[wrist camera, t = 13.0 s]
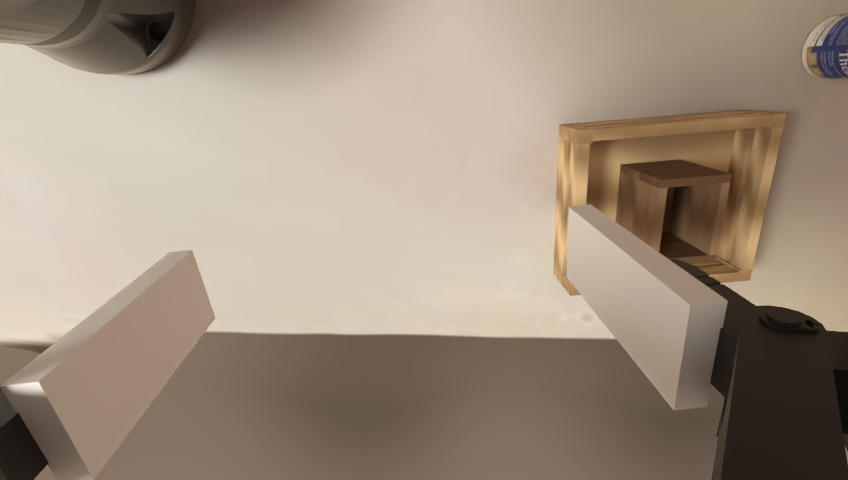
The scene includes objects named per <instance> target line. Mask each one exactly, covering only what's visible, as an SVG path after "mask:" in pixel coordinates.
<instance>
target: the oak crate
mask: <svg viewBox="0 0 848 480" xmlns="http://www.w3.org/2000/svg"><path fill="white" fill-rule="evenodd" d="M786 116H787V114H786V113H774V112H763V111H751V110H735V111H723V112H711V113H699V114H686V115H674V116H662V117H650V118H637V119H625V120H613V121H600V122H588V123H576V124H564V125H560V127H559V153H558V178H557V204H556V230H555V256H554V275H555V276H556V278H557V279H558V280H559V282H560V283H561V284H562V285H563V287H564V288H565V289H566V291H567V292H568V293H569V295H570V296H572V295H581V294H580V293H579V292H578V290H577V289H576V288H575V287H574V286H573V284H572V283H571V282H570V281H569V279H568V278H567V249H568V213H569V207H571V206H579V205H588V204H591V205H592V206H594V207H595V208H597V209H598V210H599V211H601V212H602V213H604V214H605V215H607V216H608V217H609V218H611V219H612V220H614V221H616V210H617V199H618V187H619V176H620V165H621V164H632V163H644V162H656V161H667V160H679V159H681V160H685V161H688V162H692V163H695V164H699V165H702V166H706V167H709V168H713V169H716V170H720V171H723V172H727V173H730V174H732V176H731V182H730V187H729V193H728V198H727V203H726V209H725V214H724V219H723V225H722V230H721V236H720V241H719V246H718V252H717V257H716V262H707V263H695V264H692V265H695V266H696V267H698V268H699V269H701V270H702V271H704V272H705V273H707V274H708V275H709V277H713V278H714V279H716V280H717V281H719V282H720V283H724V282H736V281H748V280H750V277H751V272H752V268H753V263H754V259H755V254H756V250H757V245H758V241H759V236H760V232H761V227H762V223H763V218H764V214H765V210H766V205H767V201H768V196H769V192H770V187H771V183H772V178H773V174H774V169H775V165H776V160H777V156H778V151H779V147H780V142H781V138H782V134H783V129H784V125H785V120H786Z"/></svg>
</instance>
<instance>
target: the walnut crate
mask: <svg viewBox="0 0 848 480" xmlns="http://www.w3.org/2000/svg"><path fill="white" fill-rule="evenodd" d="M731 176H732V174H730V173H727V172H723V171H720V170H716V169H713V168H709V167H706V166H702V165H699V164H695V163H692V162H688V161H685V160H681V159H679V160H667V161H656V162H644V163H632V164H621V165H620V176H619V187H618V199H617V210H616V221H615V222H616V223H618V224H619V225H621V226H622V227H624V228H625V229H626V230H628V231H629V232H631V233H632V234H634V235H635V236H636V237H638V238H639V239H641V240H642V241H643V242H645V243H646V244H648V245H649V246H651V247H652V248H653V249H655V250H656V251H658V252H659V253H661V254H662V255H663V256H665V257H666V258H668V259H678V260H681V261H684V262H686V263H689V264H695V263H707V262H716V257H717V252H718V246H719V241H720V236H721V230H722V225H723V219H724V214H725V209H726V203H727V198H728V193H729V187H730V182H731Z"/></svg>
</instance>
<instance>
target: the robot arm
mask: <svg viewBox="0 0 848 480" xmlns="http://www.w3.org/2000/svg"><path fill="white" fill-rule="evenodd" d="M193 11H194V0H0V43H11V44H24V45H26V46H28V47H30V48H32V49H34V50H37V51H39V52H41V53H43V54H45V55H47V56H49V57H51V58H53V59H55V60H57V61H59V62H61V63H63V64H66V65H68V66H70V67H73V68H76V69H79V70H83V71H87V72H92V73H97V74H113V75H130V74H137V73H142V72H145V71H148V70H151V69H153V68H155V67H157V66H159V65H161V64H162V63H164V62H165V61H166V60H168V59H169V58H170V57H171V56H172V55H173V54H174V53H175V52H176V51H177V50H178V48H179V47H180V46H181V44H182V42H183V41H184V39H185V37H186V35H187V33H188V30H189V28H190V25H191V21H192V17H193ZM567 278H568V279H569V281H570V282H571V283H572V284H573V286H574V287H575V288H576V289H577V290H578V292H579V293H580V294H581V295H582V297H583V298H584V299H585V300H586V302H587V303H588V304H589V305H590V307H591V308H592V309H593V310H594V312H595V313H596V314H597V315H598V317H599V318H600V319H601V320H602V322H603V323H604V324H605V325H606V327H607V328H608V329H609V330H610V332H611V333H612V334H613V335H614V337H615V338H616V339H617V340H618V341H619V343H620V344H621V345H622V346H623V348H624V349H625V350H626V351H627V352H628V354H629V355H630V356H631V358H632V359H633V360H634V361H635V363H636V364H637V365H638V366H639V368H640V369H641V370H642V371H643V373H644V374H645V375H646V376H647V377H648V379H649V380H650V381H651V382H652V384H653V385H654V386H655V387H656V389H657V390H658V391H659V392H660V394H661V395H662V396H663V397H664V399H665V400H666V401H667V402H668V403H669V405H670V406H671V407H672V409H673V410H681V409H690V408H698V407H706V406H708V400H709V395H710V390H711V385H713V386H714V387H715V388H716V389H717V390H718V391H719V392H720V393H721V394H722V395H723V396H724V397H725V399H724V403H723V408H722V413H721V418H720V422H719V427H718V431H717V437H718V440H717V447H716V454H715V460H714V467H713V473H712V480H848V465H847V458H846V451H845V447H846V449H847V450H848V332H837V331H826V329H825V328H824V326H823V325H822V324H821V323H819V322H818V321H817V320H815V319H814V318H812V317H810V316H808V315H805V314H803V313H801V312H798V311H795V310H791V309H787V308H783V307H776V306H755V305H754V304H752V303H751V302H749V301H748V300H746V299H745V298H743V297H742V296H740V295H739V294H737V293H736V292H734V291H733V290H731V289H730V288H728V287H727V286H725V285H721V284H720V282H719V281H717V280H716V279H714V278H713V277H709V275H708V274H707V273H705V272H704V271H702V270H701V269H699V268H698V267H696V266H695V265H692V264H689V263H686V262H684V261H681V260H678V259H668V258H666V257H665V256H663V255H662V254H661V253H659V252H658V251H656V250H655V249H653V248H652V247H651V246H649V245H648V244H646V243H645V242H643V241H642V240H641V239H639V238H638V237H636V236H635V235H634V234H632V233H631V232H629V231H628V230H626V229H625V228H624V227H622V226H621V225H619V224H618V223H616V222H615V221H614V220H612V219H611V218H609V217H608V216H607V215H605V214H604V213H602V212H601V211H599V210H598V209H597V208H595V207H594V206H592V205H591V204H588V205H579V206H571V207H569V213H568V249H567ZM214 319H215V316H214V313H213V310H212V307H211V304H210V301H209V298H208V295H207V293H206V290H205V287H204V284H203V281H202V278H201V275H200V272H199V269H198V266H197V263H196V260H195V257H194V254H193V251H192V250H188V251H179V252H171V253H169V254H167V255H166V256H165V257H164V258H162V259H161V260H160V261H159V262H157V263H156V264H155V265H153V266H152V267H151V268H150V269H148V270H147V271H146V272H145V273H143V274H142V275H141V276H139V277H138V278H137V279H136V280H134V281H133V282H132V283H131V284H129V285H128V286H127V287H125V288H124V289H123V290H122V291H120V292H119V293H118V294H117V295H115V296H114V297H113V298H111V299H110V300H109V301H108V302H106V303H105V304H104V305H103V306H101V307H100V308H99V309H98V310H96V311H95V312H94V313H92V314H91V315H90V316H89V317H87V318H86V319H85V320H84V321H82V322H81V323H80V324H78V325H77V326H76V327H75V328H73V329H72V330H71V331H70V332H68V333H67V334H66V335H64V336H63V337H62V338H61V339H59V340H58V341H57V342H56V343H54V344H53V345H52V346H50V347H49V348H48V349H47V350H45V351H44V352H43V353H42V354H40V355H39V356H38V357H37V358H36V359H34V360H33V361H31V362H30V363H29V364H28V365H26V366H25V367H24V368H23V369H21V370H20V371H19V372H17V373H16V374H15V375H14V376H12V377H11V378H10V379H9V380H7V381H6V382H5V383H3V384H2V385H1V386H0V480H34V479H35V477H36V476H37V475H38V474H39V473H40V472H41V471H42V470H43V469H44V467H45V466H46V465H47V464H48V466H49V467H50V469H51V471H52V472H53V474H54V476H55V477H56V479H57V480H93V479H94V478H95V477H96V476H97V475H98V473H99V472H100V471H101V469H102V468H103V467H104V465H105V464H106V463H107V461H108V460H109V459H110V457H111V456H112V454H113V453H114V452H115V451H116V449H117V448H118V447H119V445H120V444H121V443H122V441H123V440H124V439H125V437H126V436H127V435H128V433H129V432H130V431H131V429H132V428H133V427H134V425H135V424H136V423H137V421H138V420H139V419H140V417H141V416H142V415H143V413H144V412H145V411H146V409H147V408H148V407H149V405H150V404H151V403H152V401H153V400H154V399H155V397H156V396H157V395H158V393H159V392H160V391H161V389H162V388H163V386H164V385H165V384H166V382H167V381H168V380H169V379H170V377H171V376H172V375H173V373H174V372H175V371H176V369H177V368H178V367H179V365H180V364H181V363H182V361H183V360H184V359H185V357H186V356H187V355H188V354H189V352H190V351H191V349H192V348H193V347H194V346H195V344H196V343H197V341H198V340H199V339H200V338H201V336H202V335H203V334H204V332H205V331H206V330H207V328H208V327H209V326H210V324H211V323H212V322H213V320H214Z"/></svg>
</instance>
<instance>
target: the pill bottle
mask: <svg viewBox="0 0 848 480" xmlns="http://www.w3.org/2000/svg"><path fill="white" fill-rule="evenodd" d="M802 62H803V66H804V68H805V70H806V71H807V72H808V73H809V74H810V75H812V76H814V77H817V78H848V14H842V15H837V16H833V17H830V18H828V19H826V20H824V21H823V22H822V23H820V24H819V25H818V26H817V27H816V28H815V29H814V30H813V31H812V32H811V33H810V35H809V36H808V38H807V40H806V42H805V44H804V46H803V50H802Z"/></svg>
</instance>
